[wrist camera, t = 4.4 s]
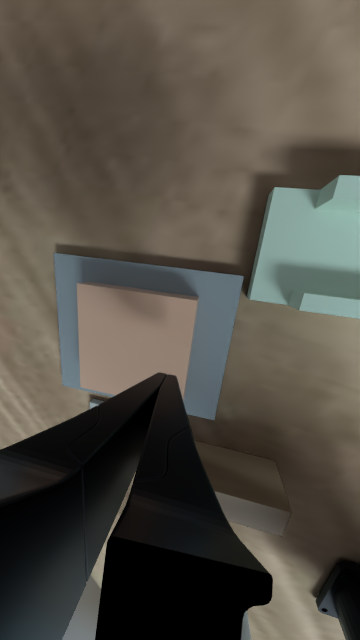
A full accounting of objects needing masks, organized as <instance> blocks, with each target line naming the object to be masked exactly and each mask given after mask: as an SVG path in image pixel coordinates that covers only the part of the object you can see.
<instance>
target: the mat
mask: <svg viewBox="0 0 360 640" xmlns="http://www.w3.org/2000/svg"><path fill="white" fill-rule="evenodd" d="M54 264H55V279H56V294H57V309H58V324H59V339H60V353H61V368H62V383H63V386H67V387H71V388H76V389H80V390H84V391H89V392H93V393H97V394H102V395H106V396H110V397H113V396H115V395H112V394H107V393H103V392H99V391H94V390H90V389H86V388H81V387H80V360H79V333H78V305H77V283H84V282H97V283H104V284H111V285H118V286H125V287H132V288H139V289H146V290H153V291H160V292H168V293H175V294H182V295H189V296H196V297H199V303H198V310H197V317H196V324H195V330H194V337H193V344H192V351H191V358H190V365H189V372H188V379H187V385H186V392H185V398H184V405H185V409H186V413H187V414H188V415H193V416H197V417H201V418H206V419H210V420H214V419H215V414H216V409H217V404H218V400H219V395H220V390H221V385H222V380H223V375H224V370H225V365H226V361H227V356H228V351H229V346H230V341H231V336H232V331H233V326H234V322H235V317H236V312H237V307H238V302H239V297H240V292H241V287H242V283H243V278H244V276H240V275H232V274H224V273H215V272H207V271H199V270H191V269H183V268H175V267H166V266H158V265H150V264H142V263H134V262H125V261H117V260H109V259H101V258H93V257H85V256H76V255H68V254H60V253H54Z"/></svg>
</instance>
